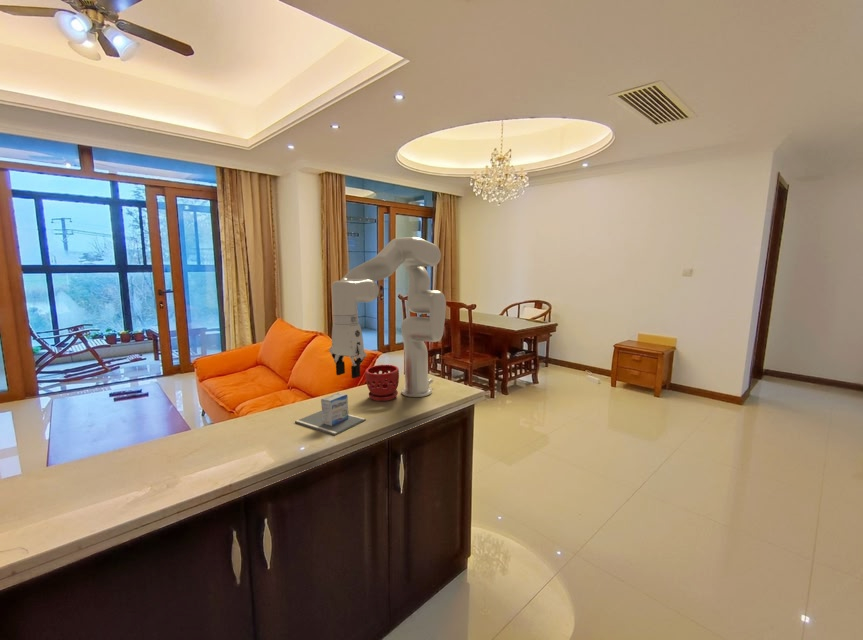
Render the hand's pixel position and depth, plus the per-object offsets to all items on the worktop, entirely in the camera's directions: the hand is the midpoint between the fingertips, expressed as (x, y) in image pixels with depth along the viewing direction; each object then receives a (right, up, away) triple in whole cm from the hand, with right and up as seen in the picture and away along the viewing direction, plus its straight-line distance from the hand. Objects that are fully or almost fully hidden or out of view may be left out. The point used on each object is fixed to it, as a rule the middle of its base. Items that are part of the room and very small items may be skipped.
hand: (348, 375), depth 124 cm
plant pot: (+7, -14, +31) cm, 35 cm away
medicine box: (-6, -17, +6) cm, 19 cm away
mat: (-8, -17, +8) cm, 20 cm away
